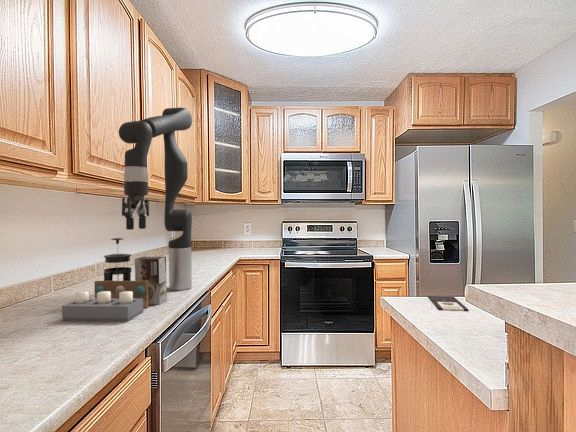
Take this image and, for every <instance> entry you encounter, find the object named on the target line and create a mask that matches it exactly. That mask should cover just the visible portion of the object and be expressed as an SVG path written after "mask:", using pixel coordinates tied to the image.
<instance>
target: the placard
mask: <svg viewBox="0 0 576 432" xmlns="http://www.w3.org/2000/svg"><path fill="white" fill-rule="evenodd" d="M101 291H111V298H119V293H120V292H124V291H132V292H133V298H143V309H149V304H148V281H135V280H131V281H123V280H119V281H118V280H113V281H104V280H94V298H97V293H98V292H101Z"/></svg>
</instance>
